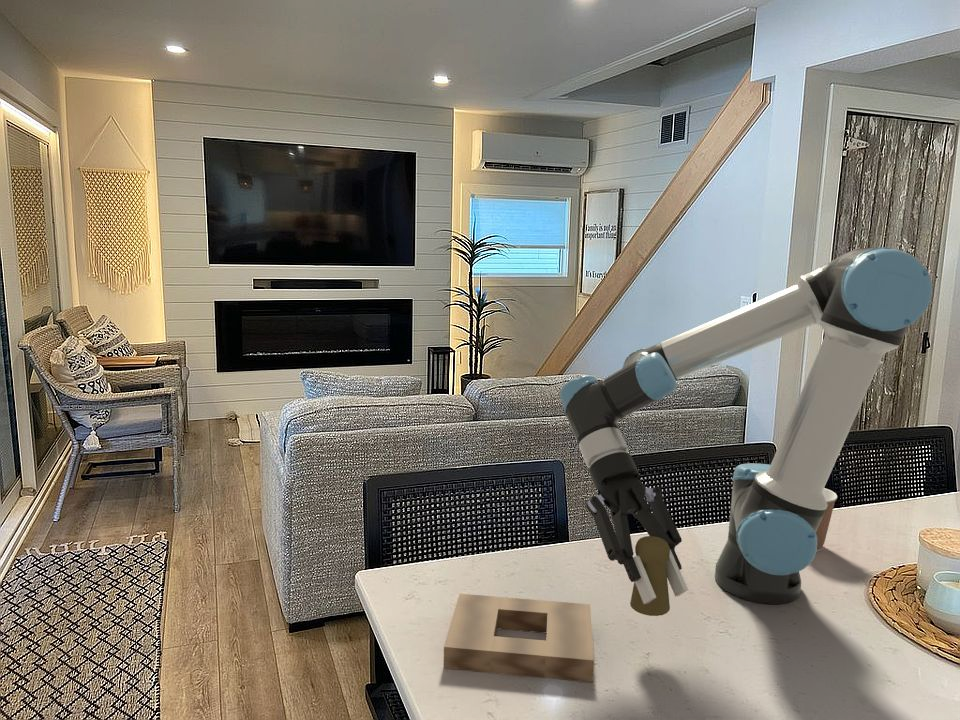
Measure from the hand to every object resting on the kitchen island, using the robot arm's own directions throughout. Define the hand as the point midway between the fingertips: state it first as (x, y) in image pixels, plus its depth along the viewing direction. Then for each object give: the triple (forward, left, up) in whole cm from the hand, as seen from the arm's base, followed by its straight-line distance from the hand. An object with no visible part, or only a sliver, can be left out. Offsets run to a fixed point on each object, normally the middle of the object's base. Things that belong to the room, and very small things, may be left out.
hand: (666, 596), depth 107 cm
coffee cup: (-36, -48, -11) cm, 61 cm away
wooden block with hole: (+22, -1, -11) cm, 24 cm away
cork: (+2, -3, -4) cm, 5 cm away
